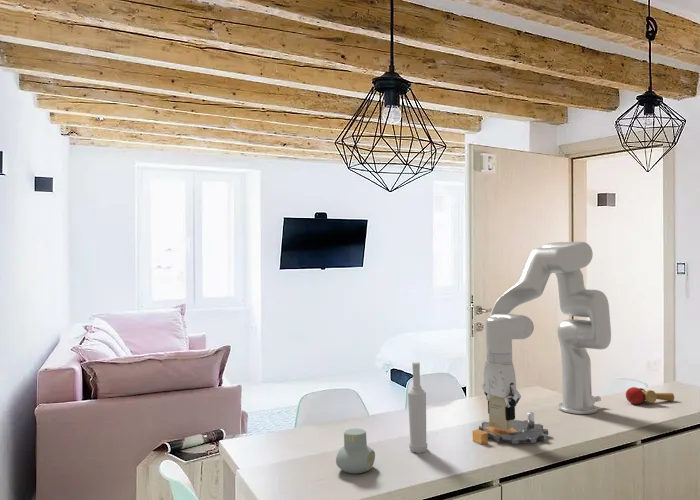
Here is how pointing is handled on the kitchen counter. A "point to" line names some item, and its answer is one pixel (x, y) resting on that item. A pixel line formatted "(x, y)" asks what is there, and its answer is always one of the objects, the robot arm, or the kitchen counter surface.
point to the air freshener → (355, 452)
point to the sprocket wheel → (517, 431)
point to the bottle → (417, 413)
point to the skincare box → (498, 413)
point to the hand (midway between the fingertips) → (501, 416)
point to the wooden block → (480, 437)
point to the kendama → (646, 396)
